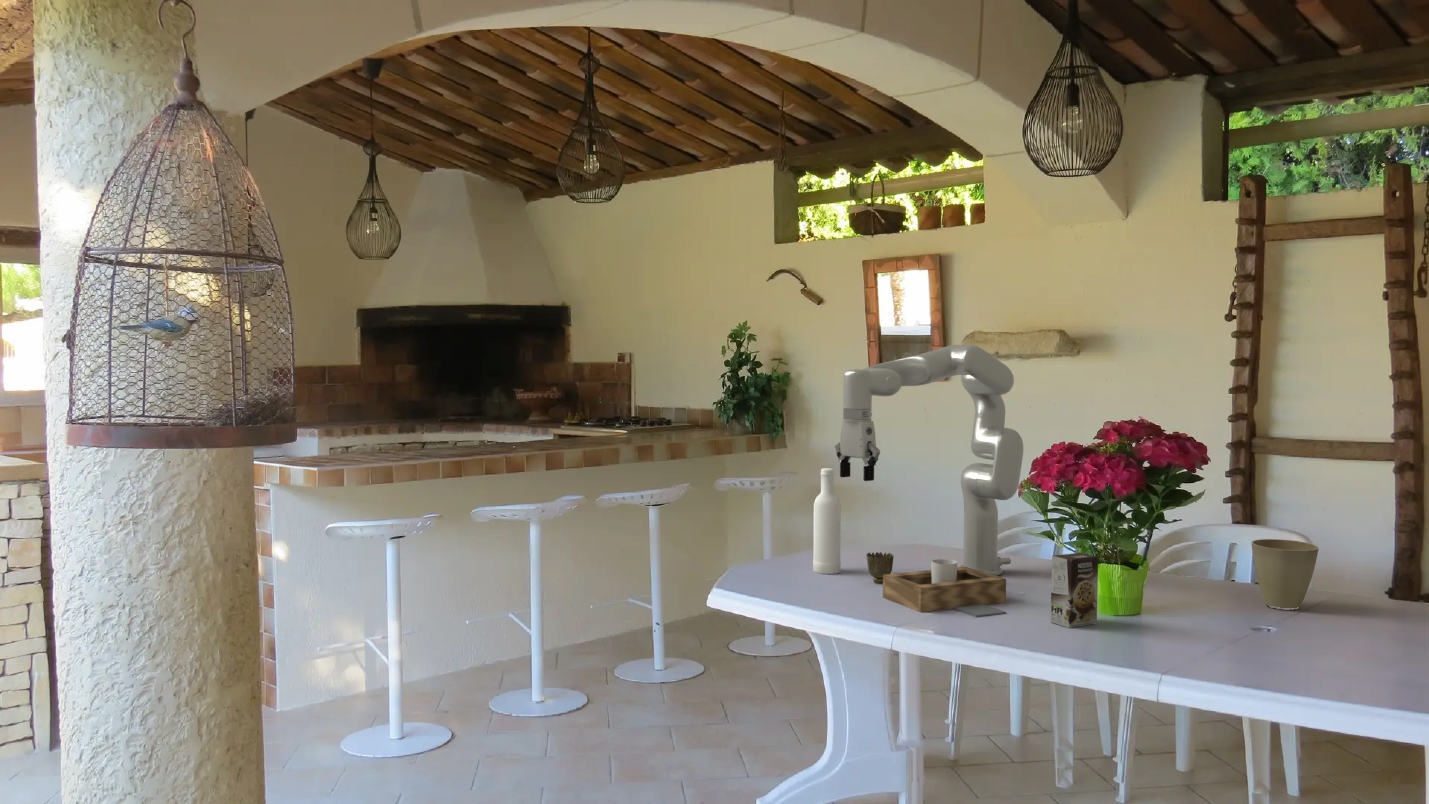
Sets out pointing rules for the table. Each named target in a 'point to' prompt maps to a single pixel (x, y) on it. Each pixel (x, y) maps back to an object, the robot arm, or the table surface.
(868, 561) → the cup
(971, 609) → the coaster
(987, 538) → the robot arm
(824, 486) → the bottle
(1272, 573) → the plant pot
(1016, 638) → the table surface
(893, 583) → the crate
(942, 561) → the white tumbler
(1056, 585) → the coffee box
